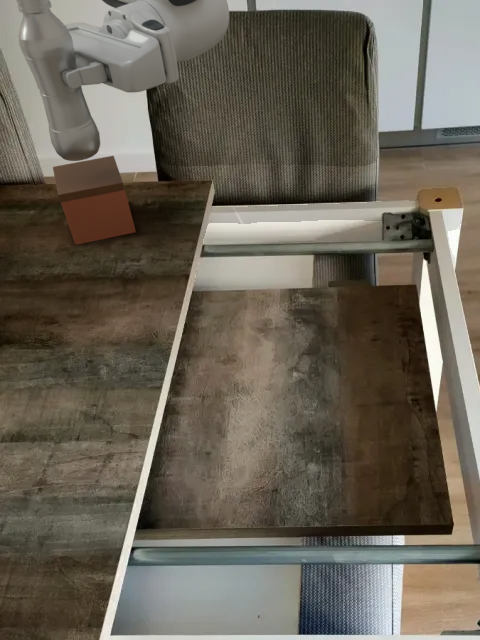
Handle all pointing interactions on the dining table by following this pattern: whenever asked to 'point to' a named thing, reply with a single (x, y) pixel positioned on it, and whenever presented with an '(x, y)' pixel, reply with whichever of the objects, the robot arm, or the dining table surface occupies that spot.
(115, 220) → the step stand
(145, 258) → the dining table surface
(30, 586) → the dining table surface
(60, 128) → the plastic bottle
